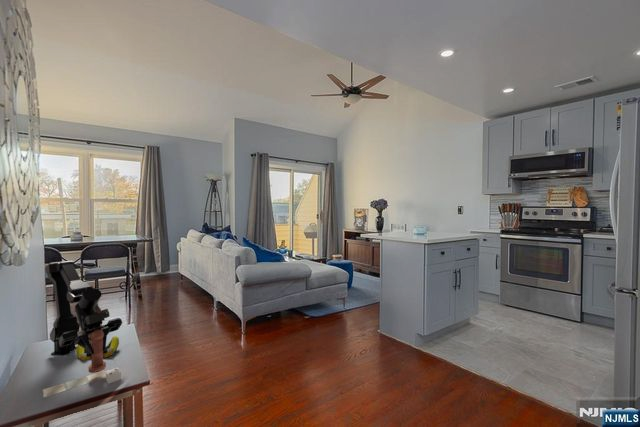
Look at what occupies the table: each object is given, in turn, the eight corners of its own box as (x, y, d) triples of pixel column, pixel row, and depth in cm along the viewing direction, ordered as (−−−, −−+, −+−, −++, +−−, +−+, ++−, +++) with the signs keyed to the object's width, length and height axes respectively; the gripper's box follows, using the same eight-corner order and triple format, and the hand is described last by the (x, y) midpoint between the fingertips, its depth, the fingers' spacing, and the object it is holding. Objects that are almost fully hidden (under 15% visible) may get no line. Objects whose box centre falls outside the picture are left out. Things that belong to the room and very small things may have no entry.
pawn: (86, 373, 109) (86, 334, 108) (91, 366, 114) (91, 328, 113) (103, 371, 111) (103, 332, 110) (107, 364, 115) (107, 326, 115)
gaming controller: (77, 354, 129) (73, 365, 121) (77, 342, 129) (73, 352, 121) (119, 346, 138) (118, 356, 129) (119, 334, 137) (118, 343, 129)
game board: (41, 402, 99) (41, 399, 99) (39, 386, 107) (39, 382, 107) (110, 379, 112) (110, 376, 112) (104, 366, 121) (104, 363, 121)
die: (107, 386, 108) (107, 375, 108) (105, 381, 111) (105, 371, 111) (121, 382, 111) (121, 371, 111) (118, 377, 114) (118, 367, 114)
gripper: (61, 311, 106) (73, 351, 100) (120, 297, 121) (133, 332, 115) (53, 327, 110) (64, 366, 105) (111, 312, 126) (123, 346, 120)
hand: (98, 351), depth 111 cm, fingers closed on pawn, 3 cm apart
